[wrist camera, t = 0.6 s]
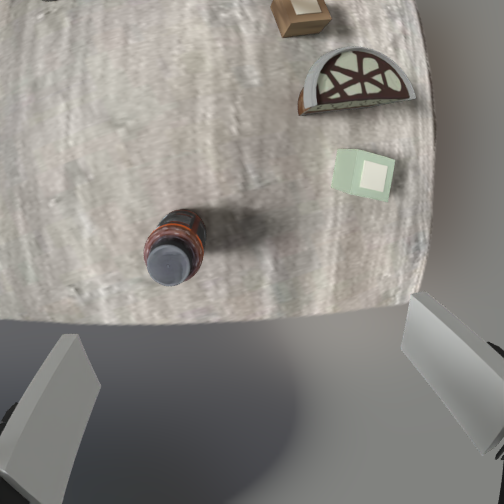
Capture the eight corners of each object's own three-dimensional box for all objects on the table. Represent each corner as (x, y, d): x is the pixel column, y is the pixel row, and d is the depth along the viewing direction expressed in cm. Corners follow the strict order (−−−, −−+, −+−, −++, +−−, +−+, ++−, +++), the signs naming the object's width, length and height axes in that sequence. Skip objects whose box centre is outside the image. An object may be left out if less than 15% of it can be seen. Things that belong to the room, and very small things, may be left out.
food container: (365, 64, 32) (406, 44, 22) (376, 107, 34) (420, 98, 24) (275, 70, 31) (295, 44, 22) (286, 117, 33) (310, 105, 24)
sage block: (337, 149, 35) (358, 149, 29) (371, 157, 36) (396, 159, 30) (330, 187, 37) (350, 194, 31) (365, 194, 37) (388, 202, 32)
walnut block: (270, 7, 28) (277, -11, 23) (306, 3, 28) (318, -15, 23) (282, 38, 30) (291, 22, 25) (318, 33, 30) (332, 18, 25)
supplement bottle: (151, 218, 36) (124, 246, 25) (196, 201, 36) (186, 222, 25) (170, 261, 38) (152, 303, 27) (213, 246, 38) (211, 284, 27)
